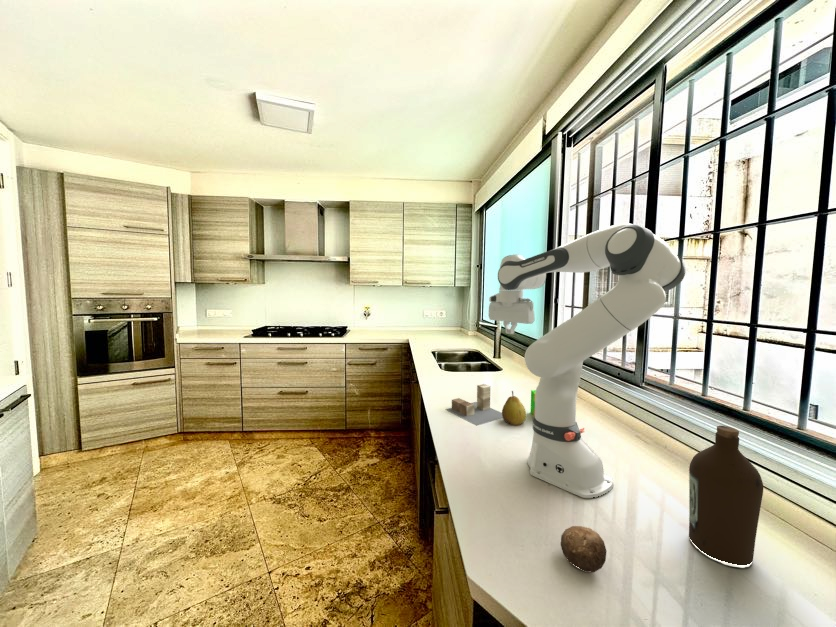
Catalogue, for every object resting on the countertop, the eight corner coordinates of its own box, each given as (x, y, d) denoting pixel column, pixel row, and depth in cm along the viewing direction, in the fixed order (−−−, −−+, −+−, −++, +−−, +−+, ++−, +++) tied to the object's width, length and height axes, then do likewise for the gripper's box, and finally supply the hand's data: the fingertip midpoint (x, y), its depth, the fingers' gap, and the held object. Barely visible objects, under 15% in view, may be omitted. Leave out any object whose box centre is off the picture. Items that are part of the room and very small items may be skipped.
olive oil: (753, 547, 66) (763, 427, 64) (760, 583, 58) (772, 447, 56) (685, 522, 73) (692, 414, 71) (683, 551, 65) (691, 429, 63)
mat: (509, 416, 134) (509, 415, 133) (476, 426, 124) (476, 425, 124) (476, 402, 150) (476, 401, 150) (444, 410, 141) (444, 409, 141)
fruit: (521, 429, 122) (522, 398, 121) (498, 423, 127) (499, 393, 126) (529, 422, 128) (529, 392, 128) (506, 416, 134) (507, 388, 133)
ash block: (490, 408, 141) (490, 386, 141) (483, 410, 139) (483, 387, 139) (483, 406, 145) (483, 384, 144) (476, 407, 143) (477, 385, 142)
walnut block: (474, 404, 135) (458, 398, 143) (467, 406, 133) (451, 399, 141) (474, 414, 135) (458, 406, 144) (466, 416, 133) (451, 408, 142)
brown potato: (597, 528, 67) (589, 512, 64) (620, 574, 59) (611, 558, 57) (560, 541, 68) (550, 526, 66) (578, 586, 61) (568, 571, 59)
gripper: (538, 298, 118) (537, 336, 119) (497, 297, 135) (496, 330, 136) (527, 298, 115) (526, 337, 116) (486, 297, 132) (485, 331, 133)
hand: (509, 333), depth 126 cm, fingers closed
